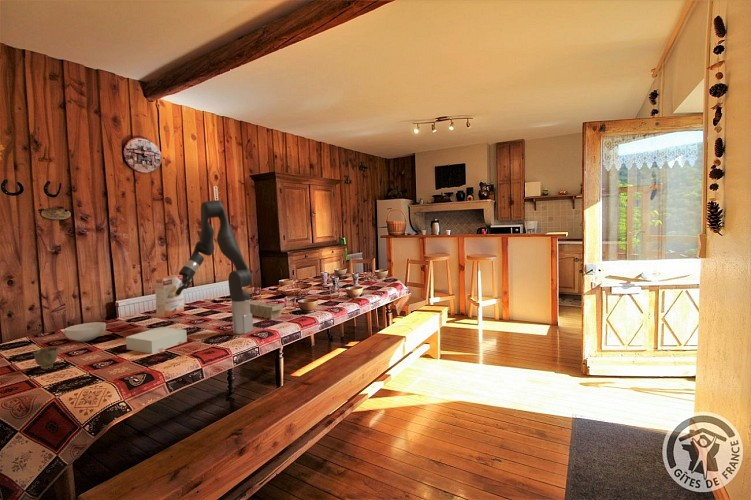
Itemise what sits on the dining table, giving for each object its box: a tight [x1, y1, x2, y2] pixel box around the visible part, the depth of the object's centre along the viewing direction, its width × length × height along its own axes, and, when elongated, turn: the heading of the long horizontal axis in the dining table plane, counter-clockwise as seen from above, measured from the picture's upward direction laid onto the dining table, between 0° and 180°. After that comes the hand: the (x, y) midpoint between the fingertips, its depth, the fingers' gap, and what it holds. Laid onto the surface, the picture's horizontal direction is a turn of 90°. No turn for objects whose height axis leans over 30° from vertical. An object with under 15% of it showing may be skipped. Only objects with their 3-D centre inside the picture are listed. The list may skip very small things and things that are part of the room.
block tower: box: [250, 300, 284, 320], centre depth 229 cm, size 8×8×29 cm
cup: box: [32, 346, 58, 370], centre depth 149 cm, size 8×7×8 cm
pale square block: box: [125, 326, 188, 355], centre depth 175 cm, size 18×18×6 cm
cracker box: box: [154, 274, 185, 318], centre depth 196 cm, size 14×6×21 cm, turn 168°
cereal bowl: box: [64, 321, 107, 343], centre depth 188 cm, size 17×17×7 cm
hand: (172, 293), depth 198 cm, fingers closed on cracker box, 6 cm apart
